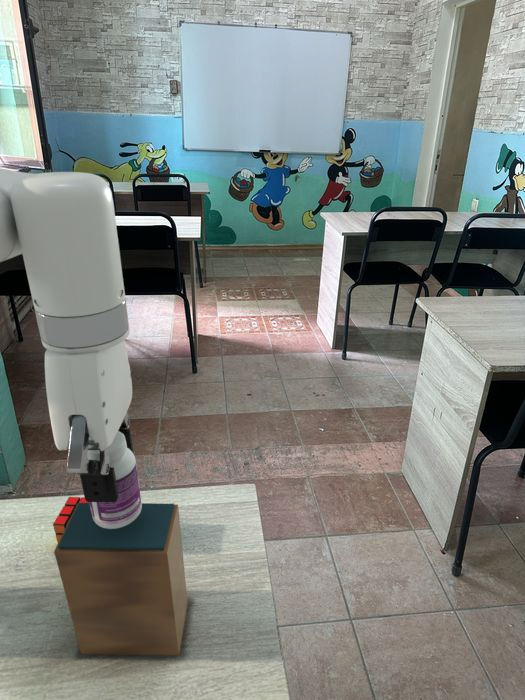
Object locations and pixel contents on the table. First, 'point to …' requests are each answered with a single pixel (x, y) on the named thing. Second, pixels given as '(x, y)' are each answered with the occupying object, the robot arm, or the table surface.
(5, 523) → the table surface
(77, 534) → the cloth
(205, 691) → the table surface
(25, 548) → the table surface
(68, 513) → the puzzle toy
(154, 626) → the stand
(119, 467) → the pill bottle
